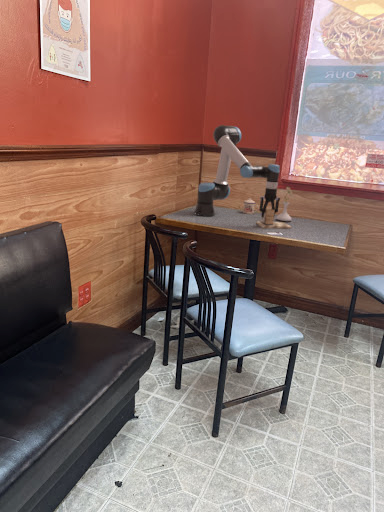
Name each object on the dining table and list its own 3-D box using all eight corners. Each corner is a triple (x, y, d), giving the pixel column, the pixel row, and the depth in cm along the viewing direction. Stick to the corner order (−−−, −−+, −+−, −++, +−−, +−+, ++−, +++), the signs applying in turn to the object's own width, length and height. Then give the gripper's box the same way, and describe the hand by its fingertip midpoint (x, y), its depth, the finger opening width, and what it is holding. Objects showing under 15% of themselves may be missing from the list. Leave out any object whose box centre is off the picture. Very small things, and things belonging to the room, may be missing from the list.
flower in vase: (291, 223, 290) (296, 188, 283) (275, 221, 292) (280, 187, 284) (291, 219, 302) (295, 186, 295) (275, 218, 304) (280, 185, 297)
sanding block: (272, 225, 269) (274, 210, 266) (265, 224, 268) (267, 210, 265) (268, 222, 278) (269, 208, 275) (261, 222, 277) (263, 207, 274)
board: (262, 228, 266) (263, 225, 265) (256, 223, 279) (256, 221, 279) (291, 228, 269) (291, 226, 269) (283, 224, 283) (283, 222, 282)
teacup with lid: (241, 213, 315) (242, 198, 312) (244, 211, 323) (246, 197, 320) (256, 215, 311) (257, 200, 308) (258, 213, 319) (260, 198, 316)
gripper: (260, 188, 261) (256, 222, 268) (286, 189, 264) (281, 223, 271) (256, 186, 268) (252, 220, 275) (282, 188, 271) (277, 221, 278)
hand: (267, 222), depth 273 cm, fingers closed on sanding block, 5 cm apart
